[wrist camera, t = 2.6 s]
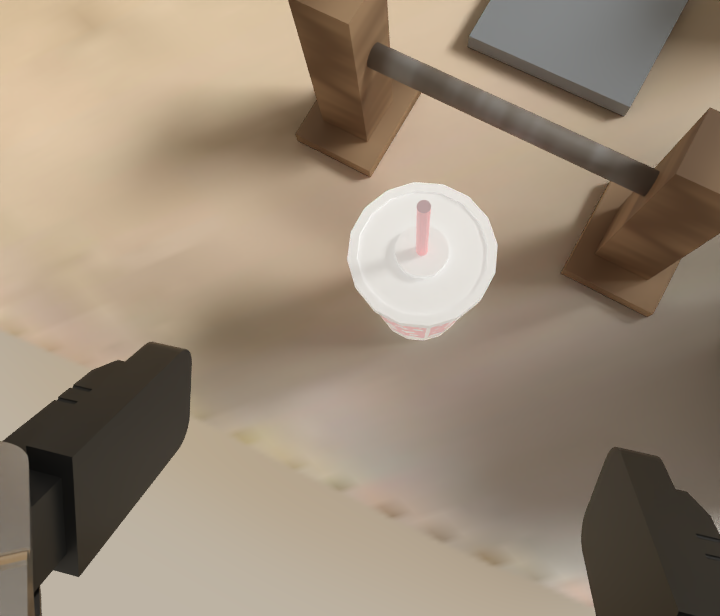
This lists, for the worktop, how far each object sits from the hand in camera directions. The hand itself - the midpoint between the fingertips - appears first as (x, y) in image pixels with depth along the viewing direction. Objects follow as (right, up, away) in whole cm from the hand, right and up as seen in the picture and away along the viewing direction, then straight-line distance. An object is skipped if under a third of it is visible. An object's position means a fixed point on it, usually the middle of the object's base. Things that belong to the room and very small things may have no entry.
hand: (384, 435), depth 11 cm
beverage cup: (+3, +3, +22) cm, 22 cm away
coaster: (+13, +20, +24) cm, 34 cm away
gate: (+7, +10, +23) cm, 26 cm away
